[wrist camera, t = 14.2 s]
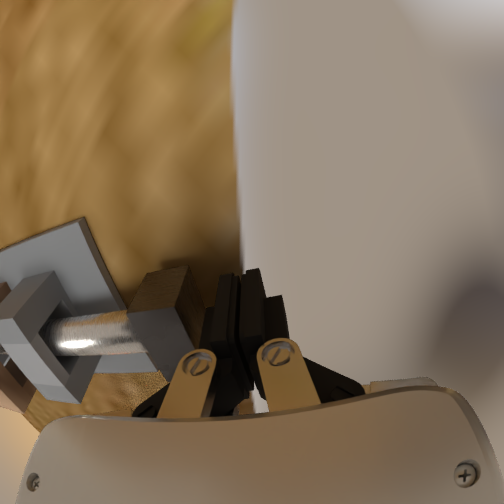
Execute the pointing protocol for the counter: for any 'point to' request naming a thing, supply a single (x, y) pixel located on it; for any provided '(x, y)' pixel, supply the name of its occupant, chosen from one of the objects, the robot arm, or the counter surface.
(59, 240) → the bearing block
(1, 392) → the block
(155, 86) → the counter surface
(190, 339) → the shaft
